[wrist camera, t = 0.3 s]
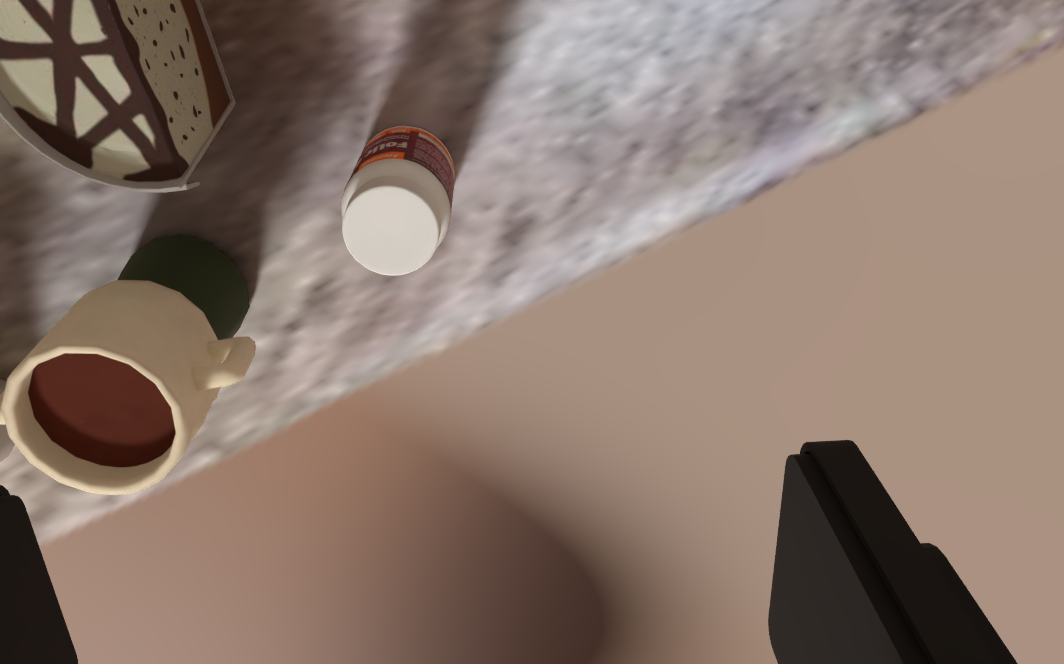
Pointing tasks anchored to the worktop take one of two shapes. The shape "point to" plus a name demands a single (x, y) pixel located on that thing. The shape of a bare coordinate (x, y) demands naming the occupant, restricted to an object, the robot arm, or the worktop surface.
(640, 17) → the worktop surface
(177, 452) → the character mug
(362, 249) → the pill bottle
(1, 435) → the salt shaker
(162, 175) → the food container
